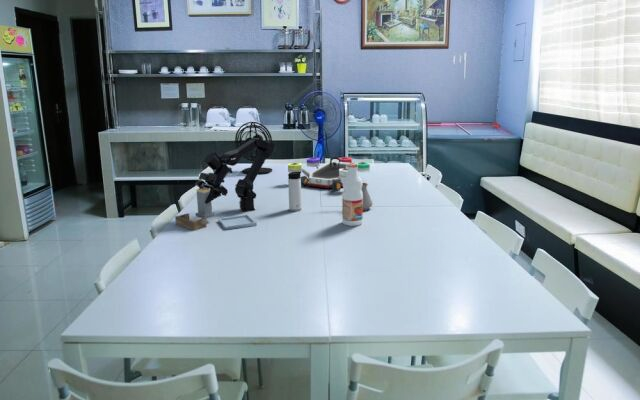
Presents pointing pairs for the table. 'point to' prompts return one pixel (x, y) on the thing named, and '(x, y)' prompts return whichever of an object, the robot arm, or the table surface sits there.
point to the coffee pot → (366, 197)
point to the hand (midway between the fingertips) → (201, 202)
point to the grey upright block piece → (204, 204)
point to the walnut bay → (190, 222)
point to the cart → (326, 172)
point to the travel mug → (294, 191)
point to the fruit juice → (352, 197)
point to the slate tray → (237, 222)
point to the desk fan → (262, 170)
